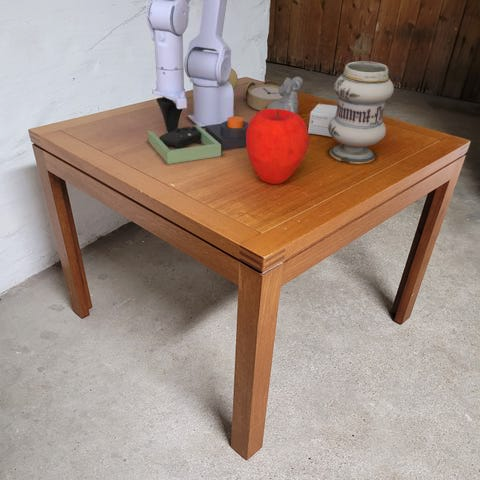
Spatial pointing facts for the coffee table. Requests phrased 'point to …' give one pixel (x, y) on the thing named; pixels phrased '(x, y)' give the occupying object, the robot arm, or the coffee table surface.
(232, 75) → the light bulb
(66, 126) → the coffee table surface
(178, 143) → the game controller
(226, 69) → the robot arm
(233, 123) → the button
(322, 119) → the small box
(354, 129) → the apothecary jar
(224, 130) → the push button box
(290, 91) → the figurine
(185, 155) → the dock
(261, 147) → the apple
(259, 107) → the alarm clock
